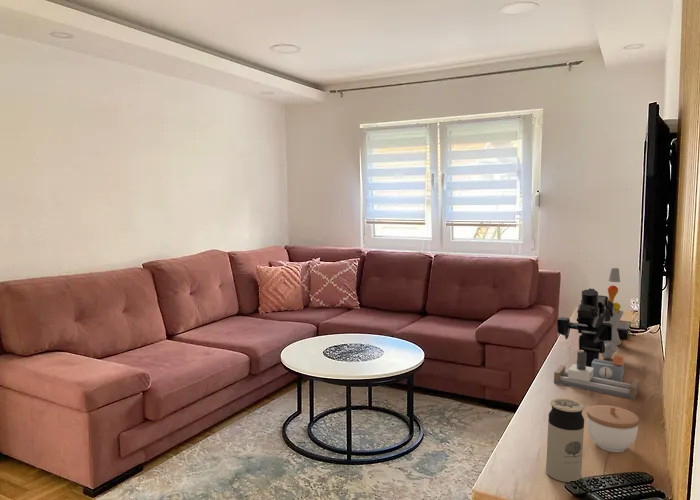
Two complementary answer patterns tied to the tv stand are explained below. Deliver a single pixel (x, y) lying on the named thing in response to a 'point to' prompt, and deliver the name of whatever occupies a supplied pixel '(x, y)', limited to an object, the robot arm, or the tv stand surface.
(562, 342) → the tv stand surface
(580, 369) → the carriage
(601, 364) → the box
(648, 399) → the tv stand surface
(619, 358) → the block
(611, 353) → the grey faceted rock
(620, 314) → the lava lamp
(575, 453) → the travel mug
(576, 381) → the rail board
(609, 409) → the lidded bowl
